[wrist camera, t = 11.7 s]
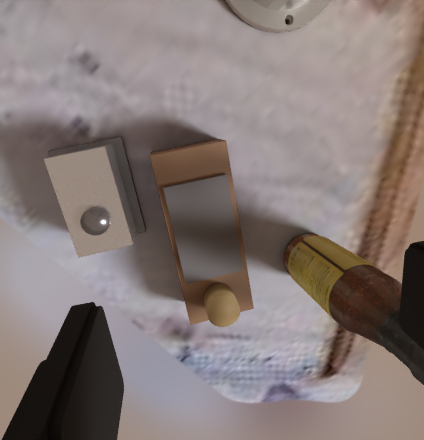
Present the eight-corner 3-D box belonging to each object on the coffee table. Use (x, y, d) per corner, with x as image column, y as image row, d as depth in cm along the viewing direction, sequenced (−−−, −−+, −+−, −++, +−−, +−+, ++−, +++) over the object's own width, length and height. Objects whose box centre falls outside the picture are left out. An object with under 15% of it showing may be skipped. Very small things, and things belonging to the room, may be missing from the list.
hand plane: (151, 152, 32) (149, 159, 25) (217, 138, 33) (233, 142, 26) (186, 302, 38) (193, 343, 31) (243, 288, 39) (262, 324, 32)
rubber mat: (49, 150, 31) (47, 151, 30) (121, 136, 32) (120, 137, 31) (81, 244, 34) (79, 246, 33) (145, 229, 35) (145, 231, 34)
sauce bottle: (294, 286, 40) (416, 430, 21) (272, 247, 38) (387, 368, 19) (339, 259, 40) (502, 379, 21) (320, 219, 38) (481, 311, 19)
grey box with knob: (61, 153, 31) (40, 159, 25) (112, 143, 31) (103, 146, 26) (89, 239, 33) (76, 260, 28) (136, 228, 34) (132, 247, 29)
